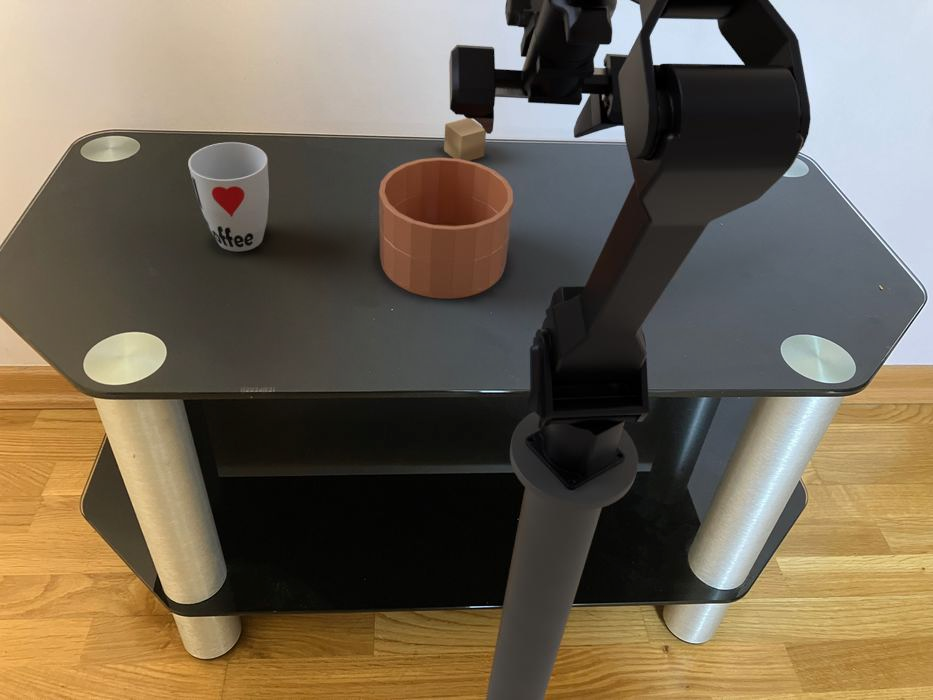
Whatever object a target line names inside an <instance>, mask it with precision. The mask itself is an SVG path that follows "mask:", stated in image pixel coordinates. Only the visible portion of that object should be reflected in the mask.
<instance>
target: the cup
mask: <svg viewBox="0 0 933 700" xmlns="http://www.w3.org/2000/svg"><path fill="white" fill-rule="evenodd" d="M268 163H269V162H268V155H267V154H266V152H265V151H264V150H262V148H259V147H258V146H255V145H252V144H249V143H244V142H235V141H230V142H227V141H226V142H219V143H213V144H210V145H207V146H204V147H201V148H200V149H198V150H196V151H195V152H193V153H192V154H191V156H190V157H189V158H188V163H187V165H188V168H189V171H190V172H189V173H190V176H191V180H192V184H193V187H194V191H195V195H196V199H197V202H198V204H199V207H200V210H201V212H202V214H203V217H204V219H205V221H206V224H207V226H208V229H209V230H210V232H211V234H212V235H213V237H214V238H215V240H216V242H217V243H218V245H219V247H221V248H222V249H224V250H227V251H230V252H246V251H250V250H253V249H255V248H256V247H258V246H260V244H261V243H262V242H263V240H264V235H265V231H266V227H267V223H268V216H269V203H270V202H269V200H270V199H269V198H270V184H269V183H270V182H269V164H268Z"/></svg>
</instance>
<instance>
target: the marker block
mask: <svg viewBox="0 0 933 700" xmlns="http://www.w3.org/2000/svg"><path fill="white" fill-rule="evenodd" d="M444 124H445V125H444V143H443V151H444V152H445V153H446V154H448V155H449V156H450V157H451V158H453V159H462V160H466V161H470V162H471V161H474V160H476V159H480V158H484V157H485V149H486V139H487V138H486V137H487V133H486V131H485V130H484V128H483V127H482V125H481V124H479V123H478V122H477V121H476V120H474V119H470V118H466V117H465V118H463V119H462V118H461V119H458V120H454V121H450V122H447V123H444Z"/></svg>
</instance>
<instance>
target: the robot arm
mask: <svg viewBox="0 0 933 700" xmlns="http://www.w3.org/2000/svg"><path fill="white" fill-rule="evenodd" d="M629 1H631V2H633V3H635V4H637V5H639V11H640V20H641V29H640V31H639V33H638V35H637V37H636V39H635V41H634V43H633V45H632V47H631V49H630V50H629V52H628V54H621V53H620V54H619V53H606V54H605V56H604V58H603V67H595V57H596V55H597V52H598V50H599V48H600V46H602V45H603V46H604V45H605V46H606V45H607V46H609V45H611V43H612V40H613V23H612V18H613V15H614V13H615V11H616V9H617V5H618V0H505V7H504V10H505V11H504V15H505V21H506V25H507V26H508V27H518V28H523V35H522V37H521V42H520V45H519V46H520V57H522V58H525V59H524V63H523V66H522V68H521V69H522V70H520V69H506V68H505V69H504V68H496V61H495V60H496V58H495V57H496V56H495V47H493V46H484V45H468V44H466V45H465V44H456V45H455V46H454V47H453V48H452V50H451V51H450V55H449V60H448V61H449V62H448V65H449V110H450V111H452V112H453V113H454V114H455V115H456V116H464V117H465V119H466V118H470V119H472V120H473V121H475V122H476V123H478V124H479V125H480V126H482V127H483V128H484V130H485V131H486V135H487V134H488V135H489V134H490V135H491V134H492V133H493V131H494V122H495V102H496V98H511V99H512V98H513V99H527V103H529V104H545V105H547V104H548V105H563V106H564V105H567V106H580V105H581V103H582V101H583V94H584V95H588V97H587V99H586V101H585V103H584V105H583V107H582V109H581V111H580V113H579V115H578V117H577V118H576V121H575V124H574V126H573V138H574V139H578V138H582V137H585V136H588V135H591V134H593V133H597V132H600V131H604V130H608V129H611V128H615V127H623V131H624V139H625V140H624V141H625V145H626V149H627V152H628V157H629V158H628V159H629V163H630V166H631V172H632V176H633V180H634V182H633V183H632V185H631V187H630V190H629V192H628V193H627V196H626V198H625V200H624V202H623V205H622V207H621V209H620V211H619V213H618V215H617V217H616V219H615V222H614V224H613V226H612V229H611V230H610V232H609V234H608V236H607V238H606V241H605V243H604V245H603V247H602V249H601V251H600V254H599V256H598V258H597V260H596V262H595V265H594V266H593V269H592V271H591V273H590V274H589V277H588V279H587V281H586V283H585V285H573V286H571V285H570V286H569V285H568V286H566V285H565V286H559V287H558V288H557V289H556V290H555V291H554V292H553V293H552V294H553V295H552V297H551V301H550V304H549V306H548V307H547V308H546V309H545V315H546V317H545V318H544V319H543V322H542V325H541V328H538V329H537V330H536V331H535V336H534V337H533V338H532V339H533V340H532V345H531V346H530V348H529V396H528V401H527V406H528V409H529V410H530V411H532V412H535V413H536V414H537V415H539V417H540V419H539V424H538V427H539V428H540V430H539V431H537V432H535V433H533V434H531V435H530V436H528V437H526V440H525V444H526V445H527V446H528V448H529V449H530V450H531V451H532V452H533V453H534V454H535V455H536V456H537V457H538V458H539V459H540V460H541V461H542V462H543V464H544V465H545V466H546V467H547V468H548V469H549V470H550V471H551V472H552V473H553V474H554V475H555V476H556V477H557V479H558V480H559V481H560V482H561V483H562V484H563V485H564V486H565V487H566V488H567V489H568V490H575V489H577V488H578V487H580V486H582V485H584V484H586V483H587V482H589V481H591V480H593V479H594V478H596V477H598V476H600V475H601V474H603V473H605V472H607V471H608V470H610V469H612V468H614V467H615V466H617V465H619V464H621V463H622V462H624V459H625V455H624V453H623V452H622V451H621V450H620V449H619V448H618V447H617V445H618V442H619V439H620V435H621V432H622V429H624V425H625V422H636V423H638V422H643V421H644V420H645V419H646V417H647V416H648V415H649V413H650V400H649V382H648V380H649V379H648V363H647V362H648V361H647V360H648V359H647V355H648V352H647V343H646V337H645V334H644V331H643V327H642V326H643V324H644V323H645V322H646V320H647V319H648V317H649V316H650V314H651V312H652V311H653V309H654V307H655V306H656V305H657V304H658V302H659V300H660V299H661V297H662V296H663V294H664V292H665V291H666V289H667V288H668V286H669V285H670V284H671V282H672V281H673V279H674V277H675V276H676V274H677V273H678V272H679V270H680V268H681V267H682V265H683V264H684V262H685V260H687V258H688V256H689V254H690V253H691V251H692V250H693V248H694V247H695V245H696V244H697V243H698V241H699V240H700V237H701V236H702V235H703V233H704V232H705V230H706V229H707V227H708V226H709V224H711V222H713V221H714V220H717V219H719V218H721V217H723V216H725V215H728V214H730V213H732V212H734V211H736V210H739V209H740V208H743V207H745V206H748V205H749V204H751V203H754V202H756V201H758V200H759V199H760V198H761V197H763V196H764V195H765V194H766V193H767V192H768V191H769V190H770V189H771V188H772V187H773V186H774V185H775V184H777V182H778V181H779V180H780V179H781V178H782V177H784V175H786V173H787V172H788V171H789V170H790V168H792V166H793V165H794V163H795V161H797V158H798V156H799V155H800V151H802V149H803V148H804V146H805V143H806V141H807V139H808V137H809V136H808V135H809V133H810V126H811V104H810V98H809V93H808V87H807V81H806V76H805V71H804V65H803V61H802V60H803V59H802V54H801V53H802V52H801V48H800V42H799V39H798V37H797V35H796V33H795V32H794V30H793V29H792V28H791V27H790V26H789V24H788V23H787V21H785V19H784V17H783V16H782V15H781V14H780V12H778V10H777V9H776V8H775V6H774V5H773V4H772V2H771V1H770V0H629ZM659 19H661V20H663V19H664V20H668V19H669V20H670V19H671V20H711V21H713V20H715V21H716V22H717V27H718V30H719V33H720V35H721V36H722V37H723V38H724V40H725V41H726V43H728V45H729V47H731V49H732V50H733V51H734V53H735V54H736V55H737V56H738V58H739V60H741V62H742V63H743V64H731V63H730V64H729V63H728V64H725V63H714V64H713V63H660V64H654V59H653V53H652V45H651V44H652V43H651V35H652V34H653V32H654V30H655V27H656V25H657V23H658V21H659ZM529 441H533V442H529ZM617 456H619V457H621V458H618V457H617ZM569 483H572V484H573V485H570V484H569Z"/></svg>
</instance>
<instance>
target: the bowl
mask: <svg viewBox="0 0 933 700" xmlns="http://www.w3.org/2000/svg"><path fill="white" fill-rule="evenodd" d="M513 207H514V190H513V188H512V187H511V184H509V182H508V180H507V179H506V178H505V177H503V176H502V174H499V172H497V171H496V170H494V169H492V168H490V167H487V166H485V165H483V164H481V163H478V162H474V161H471V160H470V161H466V160H462V159H454V158H453V157H451V158H450V157H431V158H419V159H416V160H412V161H409V162H406V163H403V164H401V165H399V166H397V167H395V168H393V169H392V170H390V171H389V172H388V173H387V174H386V175H385V176H384V178H383V179H382V180H381V181H380V185H379V191H378V212H379V213H378V218H379V220H378V221H379V223H378V224H379V258H380V265H381V267H382V270H383V272H384V273H385V275H386V276H387V277H388V279H389V280H390V281H391V282H393V283H394V284H395V285H396V286H398V287H400V288H401V289H403V290H405V291H407V292H410V293H412V294H416V295H418V296H421V297H426V298H433V299H441V300H442V299H444V300H448V299H450V300H452V299H461V298H467V297H470V296H472V297H473V296H474V295H478V294H481V293H482V292H485V291H486V290H488V289H490V288H492V287H493V286H494V285H495V284H496V283H497V282H498V281H499V280H500V279H501V277H502V276H503V274H504V272H505V269H506V268H505V267H506V265H507V259H508V258H507V257H508V249H509V240H510V233H511V232H510V231H511V225H512V215H513Z"/></svg>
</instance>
